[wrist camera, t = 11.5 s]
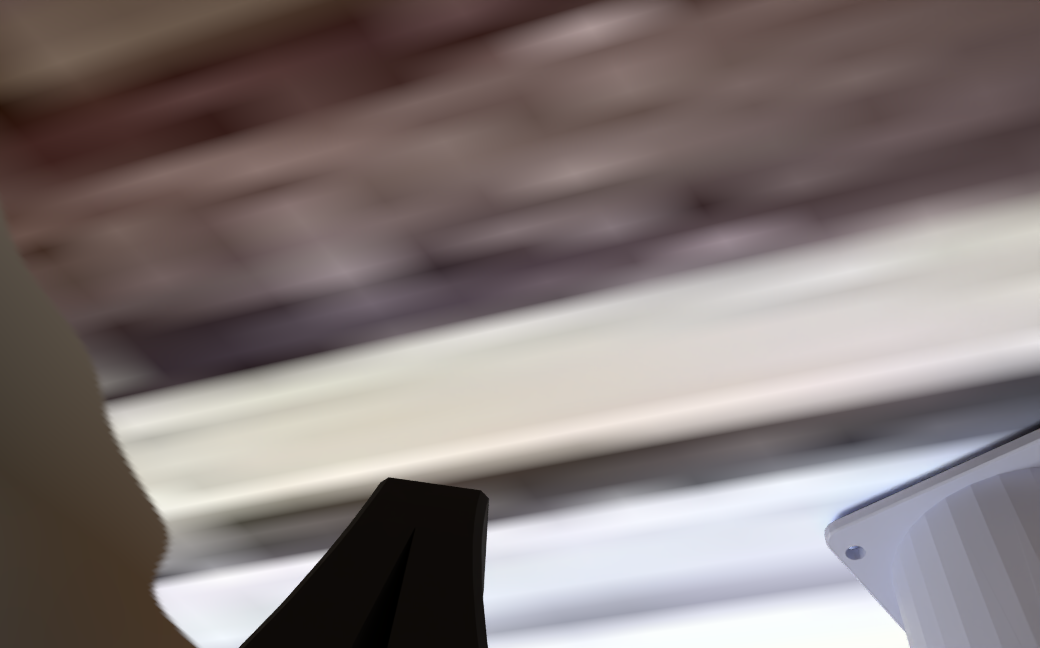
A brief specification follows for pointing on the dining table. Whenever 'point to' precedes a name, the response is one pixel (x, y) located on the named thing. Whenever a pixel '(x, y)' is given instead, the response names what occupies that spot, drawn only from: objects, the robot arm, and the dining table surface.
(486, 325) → the dining table surface
